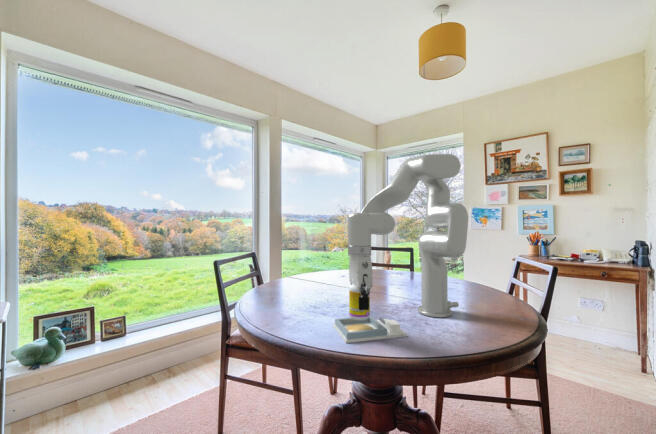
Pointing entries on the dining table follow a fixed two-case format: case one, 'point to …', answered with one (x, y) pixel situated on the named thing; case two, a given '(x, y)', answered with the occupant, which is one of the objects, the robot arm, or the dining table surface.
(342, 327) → the charging dock
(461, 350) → the dining table surface
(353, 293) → the supplement bottle
